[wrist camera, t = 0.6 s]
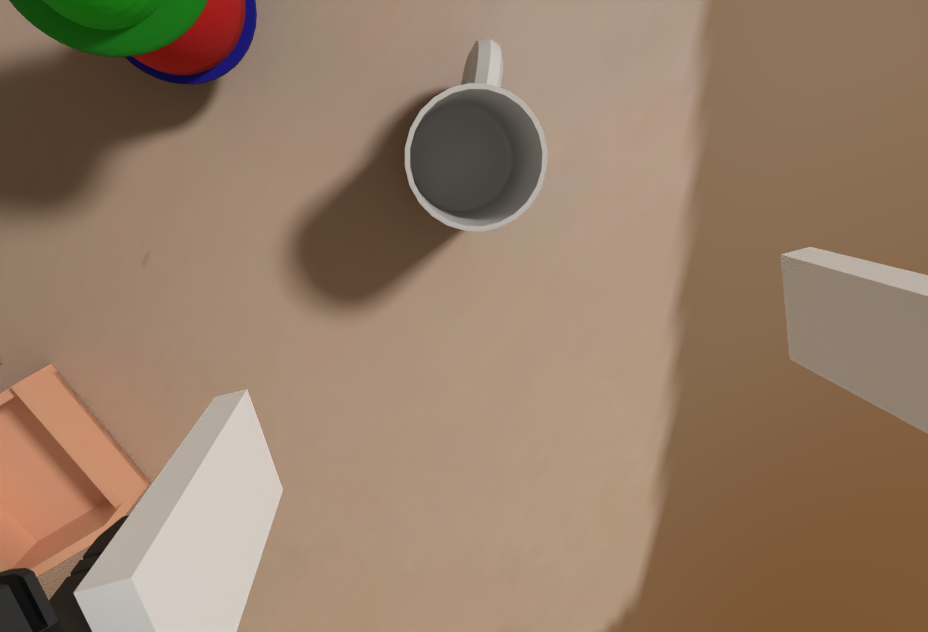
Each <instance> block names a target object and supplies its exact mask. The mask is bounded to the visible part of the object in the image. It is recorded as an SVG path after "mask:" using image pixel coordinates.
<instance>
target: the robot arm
mask: <svg viewBox="0 0 928 632" xmlns="http://www.w3.org/2000/svg"><path fill="white" fill-rule="evenodd" d="M781 265H782V276H783V288H784V300H785V311H786V324H787V335H788V346H789V359H791V360H792V361H794V362H796V363H798V364H800V365H802V366H804V367H805V368H807V369H809V370H811V371H813V372H815V373H817V374H818V375H820V376H822V377H824V378H826V379H828V380H829V381H831V382H833V383H835V384H837V385H839V386H841V387H842V388H844V389H846V390H848V391H850V392H852V393H853V394H856V395H857V396H859V397H861V398H863V399H865V400H867V401H868V402H870V403H872V404H874V405H876V406H877V407H879V408H881V409H883V410H885V411H887V412H889V413H891V414H892V415H894V416H896V417H898V418H900V419H901V420H903V421H905V422H907V423H909V424H911V425H913V426H914V427H916V428H918V429H920V430H922V431H924V432H926V433H927V434H928V275H923V274H920V273H915V272H911V271H907V270H903V269H899V268H895V267H891V266H886V265H883V264H878V263H874V262H870V261H866V260H862V259H858V258H853V257H849V256H846V255H841V254H837V253H833V252H829V251H825V250H821V249H817V248H813V247H809V248H805V249H801V250H797V251H793V252H789V253H785V254H781ZM282 492H283V489H282V486H281V483H280V480H279V477H278V475H277V472H276V469H275V466H274V463H273V461H272V458H271V455H270V452H269V449H268V447H267V444H266V441H265V438H264V435H263V432H262V430H261V427H260V424H259V421H258V418H257V416H256V413H255V410H254V407H253V404H252V401H251V399H250V396H249V393H248V390H247V389H245V390H241V391H237V392H233V393H229V394H225V395H221V396H217V397H215V398H214V399H213V400H212V402H211V403H210V404H209V406H208V407H207V409H206V410H205V411H204V413H203V414H202V416H201V417H200V418H199V420H198V421H197V422H196V424H195V425H194V427H193V428H192V429H191V431H190V432H189V434H188V435H187V436H186V438H185V439H184V440H183V442H182V443H181V445H180V446H179V447H178V449H177V450H176V452H175V453H174V454H173V456H172V457H171V458H170V460H169V461H168V463H167V464H166V465H165V467H164V468H163V470H162V471H161V472H160V474H159V475H158V476H157V478H156V479H155V481H154V482H153V483H152V485H151V486H150V488H149V489H148V490H147V492H146V493H145V494H144V496H143V497H142V499H141V500H140V501H139V503H138V504H137V505H136V507H135V508H134V510H133V511H132V512H131V514H130V515H128V516H124V517H121V518H120V519H119V520H118V521H116V522H115V523H114V524H113V525H112V526H110V527H109V528H108V529H107V530H106V531H104V532H103V533H102V534H101V535H99V536H98V537H97V539H96V540H95V541H94V543H93V544H92V545H91V546H90V548H89V549H88V550H87V552H86V553H85V554H84V556H83V560H80V561H79V562H78V564H77V565H76V566H75V567H74V569H73V570H72V571H71V576H69V577H67V578H66V579H65V581H64V582H63V583H62V584H61V586H60V587H59V588H58V590H57V591H56V592H55V594H54V595H53V596H52V598H51V599H50V600H49V601H48V599H47V597H46V595H45V593H44V591H43V589H42V587H41V585H40V583H39V581H38V579H37V577H36V575H35V573H34V571H32V570H29V569H27V568H17V569H9V570H6V571H3V572H0V632H236V631H237V628H238V625H239V622H240V619H241V616H242V613H243V610H244V607H245V604H246V601H247V598H248V595H249V592H250V589H251V586H252V583H253V580H254V577H255V574H256V571H257V567H258V564H259V561H260V558H261V555H262V552H263V549H264V546H265V543H266V540H267V537H268V534H269V531H270V528H271V525H272V522H273V519H274V516H275V513H276V510H277V507H278V504H279V501H280V498H281V495H282Z"/></svg>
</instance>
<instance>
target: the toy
mask: <svg viewBox="0 0 928 632" xmlns="http://www.w3.org/2000/svg"><path fill="white" fill-rule="evenodd" d="M9 1H10V2H11V3H12V4H13V6H14V7H15V8H16V9H17V10H18V11H19V12H20V13H21V14H22V15H23V16H24V17H25V18H26V19H27V20H28V21H29V22H31V23H32V24H33V25H34V26H35V27H37V28H38V29H39V30H41V31H42V32H44V33H45V34H47V35H48V36H50V37H52V38H53V39H55V40H57V41H59V42H60V43H63V44H65V45H67V46H69V47H72V48H74V49H77V50H80V51H83V52H86V53H91V54H96V55H100V56H110V57H125V58H126V59H128V60H129V61H130V62H131V63H132V64H133V65H134V66H136V67H137V68H139V69H141V70H142V71H144V72H145V73H147V74H149V75H151V76H153V77H155V78H158V79H161V80H164V81H167V82H172V83H178V84H199V83H205V82H208V81H211V80H215V79H217V78H219V77H221V76H223V75H225V74H226V73H228V72H229V71H230V70H231V69H233V68H234V67H235V66H236V65H237V64H238V63H239V62H240V61H241V60H242V58H243V57H244V55H245V54H246V52H247V51H248V49H249V47H250V44H251V42H252V40H253V36H254V32H255V28H256V17H257V13H256V2H255V0H9Z"/></svg>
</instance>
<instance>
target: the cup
mask: <svg viewBox="0 0 928 632" xmlns="http://www.w3.org/2000/svg"><path fill="white" fill-rule="evenodd" d="M502 74H503V59H502V53H501V48H500V45H499V44H497V43H496V42H494V41H493V40H492V39H490V38H486V39H482V40H478V41H476V43H475V44H474V46H473V48H472V49H471V51H470V53H469V55H468V57H467V60H466V64H465V68H464V73H463V78H462V83H461V85H460V86H455V87H451V88H449V89H447V90H446V91H444V92H442V93H440V94H439V95H437V96H435V97H434V98H433V99H432V100H431V101H430V102H429V103H428V104H427V105H426V106H425V107H423V108H422V109H421V110H420V112H419V114H418V115H417V117H416V119H415V121H414V122H413V124H412V126H411V128H410V131H409V134H408V138H407V142H406V145H405V149H404V166H405V170H406V174H407V178H408V182H409V185H410V187H411V189H412V191H413V193H414V195H415V196H416V198H417V200H418V202H419V203H420V204H421V205H422V206H423V207H424V208H425V209H426V210H427V212H428V213H429V214H430V215H431V216H433V217H434V218H436V219H437V220H439V221H441V222H442V223H444V224H446V225H447V226H450V227H454V228H457V229H461V230H464V231H486V230H490V229H494V228H498V227H502V226H504V225H505V224H507V223H509V222H511V221H513V220H514V219H516V218H518V217H519V216H520V215H521V214H522V213H523V212H524V211H525V210H526V209H527V208H528V207H529V206H530V205H531V204H532V202H533V201H534V199H535V197H536V196H537V194H538V193H539V191H540V189H541V186H542V183H543V180H544V177H545V174H546V170H547V153H548V152H547V146H546V141H545V136H544V132H543V130H542V128H541V126H540V124H539V122H538V119H537V117H536V115H535V114H534V113H533V112H532V111H531V109H530V108H529V107H528V106H527V105H526V104H525V102H524V101H523V100H521V99H520V98H518V97H517V96H515V95H514V94H512V93H511V92H509V91H508V90H506V89H503V88H501V82H502Z"/></svg>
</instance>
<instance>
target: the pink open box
mask: <svg viewBox="0 0 928 632" xmlns="http://www.w3.org/2000/svg"><path fill="white" fill-rule="evenodd" d="M149 483H150V482H149V480H148V479H147V478H146V477H145V476H144V474H143V473H142V472H141V471H140V470H139V468H138V467H137V466H136V465H135V464H134V462H133V461H132V460H131V459H130V458H129V456H128V455H127V454H126V453H125V452H124V450H123V449H122V448H121V447H120V446H119V444H118V443H117V442H116V441H115V440H114V438H113V437H112V436H111V435H110V434H109V432H108V431H107V430H106V429H105V428H104V426H103V425H102V424H101V423H100V422H99V420H98V419H97V418H96V417H95V416H94V414H93V413H92V412H91V411H90V410H89V408H88V407H87V406H86V405H85V404H84V402H83V401H82V400H81V399H80V398H79V396H78V395H77V394H76V393H75V392H74V390H73V389H72V388H71V387H70V386H69V384H68V383H67V382H66V381H65V380H64V378H63V377H62V376H61V375H60V374H59V372H58V371H57V370H56V369H55V368H54V366H53V365H52V364H49V365H47V366H46V367H44V368H42V369H40V370H39V371H37V372H35V373H34V374H32V375H30V376H28V377H27V378H25V379H23V380H22V381H20V382H18V383H16V384H15V385H13V386H12V387H10V388H8V389H7V390H5V391H4V392H2V393H0V572H3V571H6V570H9V569H17V568H27V569H29V570H32V571H34V573H35V575H36V577H37V576H39V575H41V574H42V573H44V572H46V571H47V570H49V569H51V568H52V567H54V566H56V565H57V564H59V563H61V562H63V561H64V560H66V559H68V558H69V557H71V556H73V555H74V554H76V553H78V552H79V551H81V550H83V549H85V548H86V547H88V546H90V545H91V544H93V543H94V541H95V540H96V539H97V537H98V536H99V535H101V534H102V533H103V532H104V531H106V530H107V529H108V528H109V527H110V526H112V525H113V524H114V523H115V522H116V521H118V520H119V519H120V518H121V517H124V516H125V514H126V513H127V512H128V510H129V509H130V508H131V507H132V505H133V504H134V503H135V501H136V500H137V499H138V498H139V496H140V495H141V494H142V492H143V491H144V490H145V489H146V487H147V486H148V485H149Z"/></svg>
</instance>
